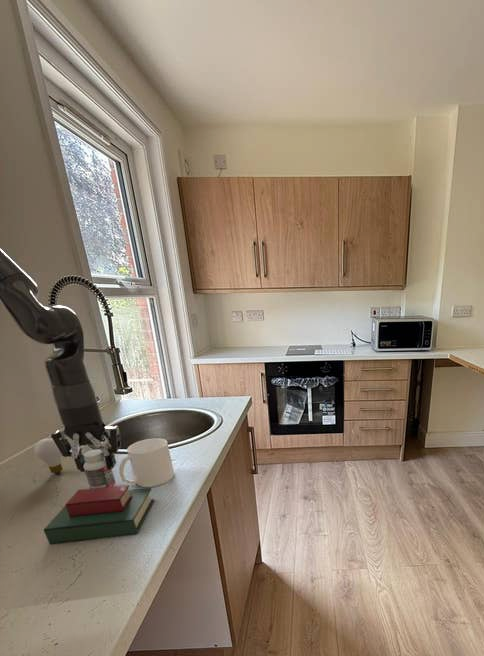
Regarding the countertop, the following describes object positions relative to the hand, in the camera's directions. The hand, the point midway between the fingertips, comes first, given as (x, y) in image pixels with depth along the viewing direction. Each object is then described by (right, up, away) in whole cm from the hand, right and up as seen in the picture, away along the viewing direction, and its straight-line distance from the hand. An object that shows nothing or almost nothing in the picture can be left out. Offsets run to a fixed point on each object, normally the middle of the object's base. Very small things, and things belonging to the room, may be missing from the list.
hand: (98, 468), depth 83 cm
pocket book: (+8, -7, -11) cm, 15 cm away
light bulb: (-17, -2, +10) cm, 20 cm away
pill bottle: (0, -5, +2) cm, 6 cm away
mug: (+10, -4, +5) cm, 12 cm away
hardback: (+8, -10, -10) cm, 16 cm away
